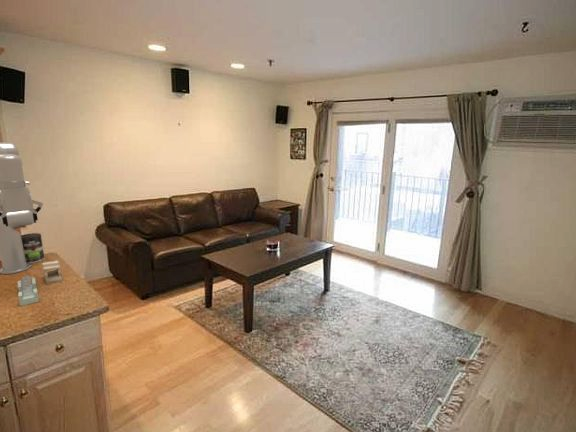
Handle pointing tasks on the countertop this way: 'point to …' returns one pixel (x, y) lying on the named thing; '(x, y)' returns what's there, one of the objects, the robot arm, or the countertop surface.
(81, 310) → the countertop surface
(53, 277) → the block
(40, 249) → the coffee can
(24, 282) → the axle
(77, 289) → the countertop surface
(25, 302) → the cradle
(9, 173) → the robot arm
